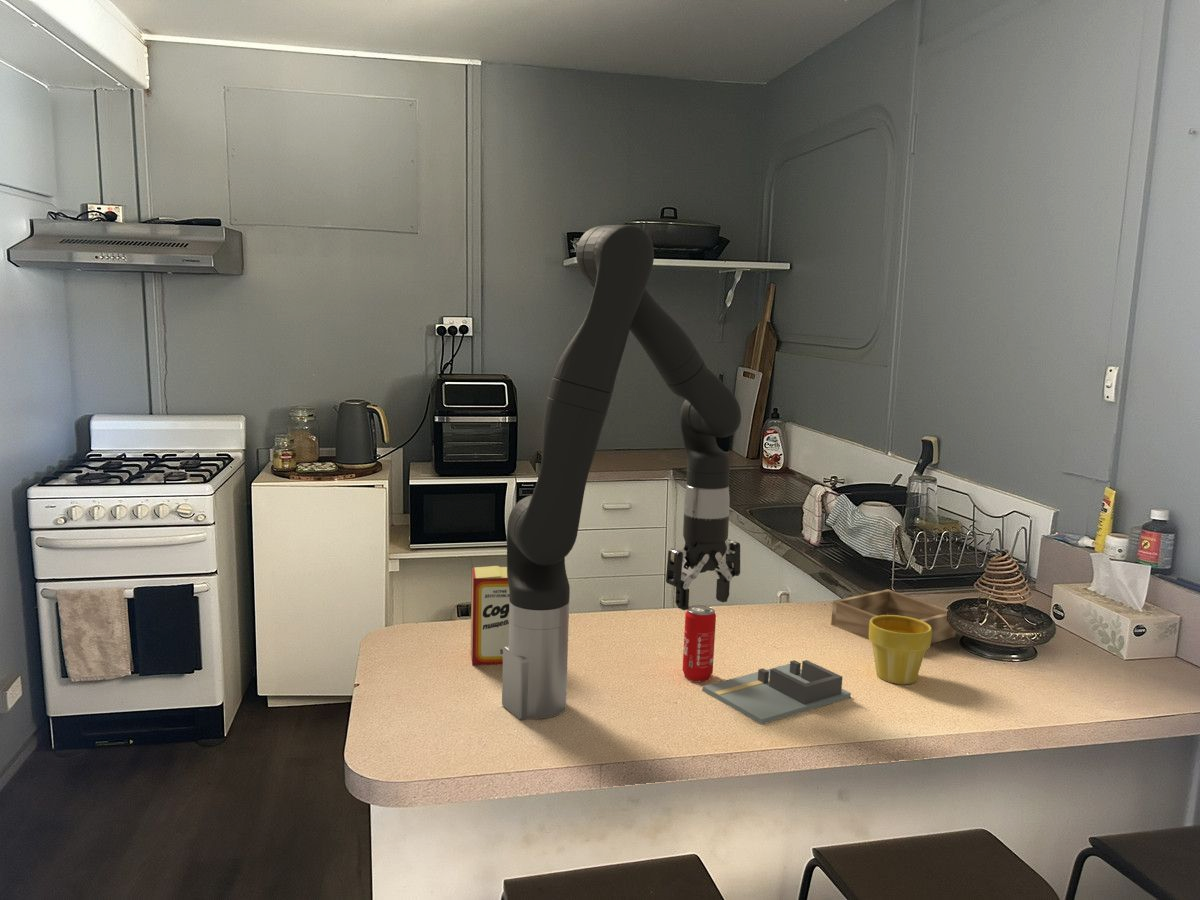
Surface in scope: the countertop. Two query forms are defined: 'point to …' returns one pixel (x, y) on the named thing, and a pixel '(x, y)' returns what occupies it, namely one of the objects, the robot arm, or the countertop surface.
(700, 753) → the countertop surface
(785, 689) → the board
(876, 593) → the wooden tray
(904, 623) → the plant pot
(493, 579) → the baking soda box
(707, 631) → the beverage can
